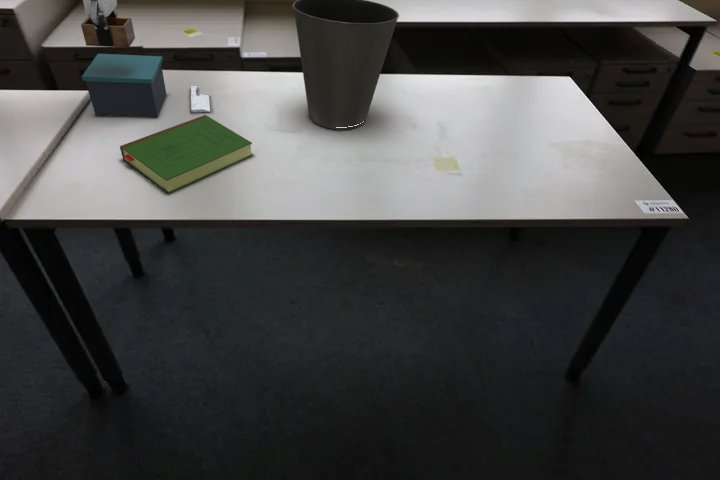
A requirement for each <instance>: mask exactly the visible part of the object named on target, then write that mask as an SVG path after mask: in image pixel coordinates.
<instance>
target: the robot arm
mask: <svg viewBox="0 0 720 480" xmlns="http://www.w3.org/2000/svg"><path fill="white" fill-rule="evenodd" d="M82 2H83V7H84V13H85V15H86V16H87V17H88V16H91V20H92V21H93V24H94V27H95V29H96V34H97V38H98V42H99V45H104V46H103V47H105V46H112V45H113V40H112V35H111V31H110V29H109V28H108V21H107V17H119V15H118V13H117V6H118V0H82ZM101 13H102V14H101ZM99 18H103V20H104V23H103V22H102V20H99Z"/></svg>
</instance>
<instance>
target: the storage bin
mask: <svg viewBox="0 0 720 480" xmlns="http://www.w3.org/2000/svg"><path fill="white" fill-rule="evenodd" d="M163 62H164V58H163V56H162V55H161V56H160V55H157V56H156V55H139V54H138V55H136V54H117V53H115V54H114V53H97V55H95V57H94V58H93V59H92V61H91V62H90V64H89V66H88V67H87V69H86V70H85V71H84V73H83V74H82V75H81V79H82V82H85V83H86V87H87V90H88V95H89V98H90V102H91V105H92V108H93V109H92V110H93V113H94V116H96V117H121V118H122V117H126V118H127V117H128V118H154V119H155V118H158V117H159V115H160V111H161V109H162V107H163V104H164V102H165V100H166V97H167V89H166V83H165V77H164V71H163V66H162V64H163Z"/></svg>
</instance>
